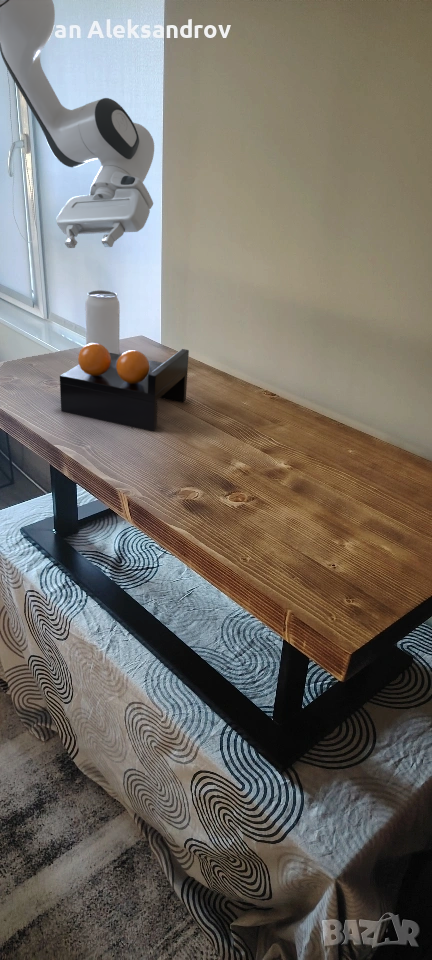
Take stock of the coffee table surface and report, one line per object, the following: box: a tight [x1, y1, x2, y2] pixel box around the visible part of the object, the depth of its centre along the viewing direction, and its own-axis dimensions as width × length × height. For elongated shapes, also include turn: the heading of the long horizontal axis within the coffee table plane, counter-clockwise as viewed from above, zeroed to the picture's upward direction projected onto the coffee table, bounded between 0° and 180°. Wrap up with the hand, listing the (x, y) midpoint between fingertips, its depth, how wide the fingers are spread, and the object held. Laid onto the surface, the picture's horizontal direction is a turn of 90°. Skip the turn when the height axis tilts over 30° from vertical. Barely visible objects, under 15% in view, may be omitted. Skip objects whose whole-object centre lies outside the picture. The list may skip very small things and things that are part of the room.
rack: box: [59, 343, 190, 432], centre depth 101 cm, size 16×14×11 cm
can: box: [84, 289, 121, 354], centre depth 122 cm, size 6×6×12 cm
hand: (87, 245), depth 124 cm, fingers open, 8 cm apart
